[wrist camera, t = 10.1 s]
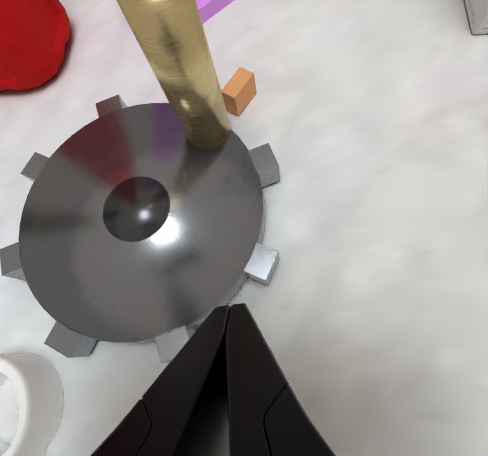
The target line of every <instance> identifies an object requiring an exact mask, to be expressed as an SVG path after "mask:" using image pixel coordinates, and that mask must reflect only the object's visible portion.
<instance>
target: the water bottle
mask: <svg viewBox="0 0 488 456" xmlns="http://www.w3.org/2000/svg"><path fill="white" fill-rule="evenodd" d="M69 37H70V25H69V18H68V16H67V14H66V11H65V9H64V7H63V6H62V4H61V3H60V2H59V0H0V91H1V90H5V89H11V90H26V89H30V88H34V87H38V86H40V85H41V84H43V83H44V82H46V81H47V80H49V79H50V78H51V77H53V76H54V75H56V73H57V71H58V69H59V67H60V65H61V63H62V61H63V59H64V51H65V45H66V43H67V41H68V39H69Z"/></svg>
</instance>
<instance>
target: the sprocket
mask: <svg viewBox="0 0 488 456" xmlns="http://www.w3.org/2000/svg"><path fill="white" fill-rule="evenodd" d="M117 2H118V4H119V6H120V8H121V10H122V12H123V14H124V16H125V17H126V19H127V21H128V23H129V25H130V27H131V29H132V31H133V33H134V35H135V37H136V39H137V41H138V43H139V45H140V47H141V49H142V51H143V52H144V54H145V56H146V58H147V60H148V62H149V64H150V66H151V68H152V70H153V72H154V74H155V76H156V78H157V80H158V82H159V84H160V86H161V87H162V89H163V91H164V93H165V95H166V97H167V99H168V101H169V103H170V104H169V103H150V104H141V105H135V106H131V107H127V106H126V105H125V103H124V102H123V100H122V99H121V97H120V96H119V95H116V96H114V97H111V98H109V99H106V100H104V101H101V102H99V103H96V108H97V112H98V116H99V118H98V119H96V120H94V121H93V122H91V123H89V124H88V125H86V126H84V127H83V128H81V129H80V130H79V131H77V132H76V133H75V134H73V135H72V136H71V137H70V138H69V139H67V140H66V141H65V142H64V143H63V144H62V145H61V146H60V147H59V148H58V149H57V150H56V151H55V152H54V153H53V155H52V156H51V157H50V158H48V157H46V156H43V155H41V154H38V153H36V152H35V153H34V154H33V156H32V157H31V159H30V160H29V162H28V163H27V165H26V166H25V168H24V169H23V171H22V172H21V174H22V175H24V176H25V177H27V178H29V179H30V180H32V181H33V182H34V183H33V185H32V187H31V189H30V191H29V194H28V196H27V199H26V202H25V205H24V208H23V212H22V217H21V222H20V230H19V242H17V243H15V244H12V245H10V246H7V247H5V248H2V249H0V261H1V270H2V276H7V277H11V278H16V279H20V280H25V281H27V284H28V286H29V287H30V289H31V291H32V293H33V295H34V297H35V298H36V299H37V301H38V302H39V303H40V305H41V306H42V307H43V309H44V310H45V311H46V312H47V313H49V314H50V315H51V316H52V317H53V318H54V319H55V320H56V321H57V322H56V323H55V325H54V327H53V329H52V330H51V332H50V334H49V335H48V337H47V339H46V341H45V342H44V344H46V345H48V346H49V347H51V348H53V349H54V350H56V351H58V352H59V353H61V354H63V355H65V356H66V357H68V358H69V357H83V356H89V354H90V352H91V350H92V349H93V347H94V345H95V343H96V341H97V340H103V341H111V342H149V341H155V340H156V344H157V348H158V352H159V356H160V360H161V363H163V362H168V361H172V360H173V358H174V357H175V356H176V355H177V353H178V352H179V351H180V350H181V349H182V347H183V346H184V345H185V344H186V342H187V341H188V340H189V339H190V338H191V336H192V335H193V334H194V333H195V331H196V329H195V327H197V326H198V325H200V324H201V323H203V322H204V320H205V319H206V318H207V317H208V315H209V314H210V313H211V312H212V311H213V309H214V308H215V307H218V306H225V305H226V304H227V303H228V302H229V301H230V300H231V299H232V298H233V297H234V296H235V294H236V293H237V292H238V291H239V289H240V288H241V286H242V285H243V284H244V282H245V281H246V279H247V278H248V277H249V278H251V279H254V280H256V281H258V282H260V283H263V284H265V285H267V286H268V284H269V282H270V280H271V277H272V275H273V273H274V271H275V268H276V266H277V264H278V261H279V253H278V251H276V250H274V249H271V248H269V247H266V246H264V245H261V244H262V240H263V236H264V228H265V203H264V198H263V192H262V187H265V186H267V185H270V184H272V183H275V182H277V181H280V173H279V165H278V163H277V161H276V158H275V156H274V154H273V152H272V150H271V148H270V146H269V143H267V144H265V145H262V146H260V147H257V148H255V149H252V150H250V151H248V149H247V148H246V146H245V145H244V144H243V142H242V141H241V139H240V138H239V137H238V136H237V135H236V134H235V133H234V132H233V131H232V130H231V124H230V121H229V117H228V114H227V110H226V107H225V103H224V99H223V96H222V92H221V89H220V85H219V82H218V78H217V75H216V71H215V68H214V64H213V60H212V57H211V53H210V50H209V46H208V43H207V39H206V36H205V32H204V29H203V25H202V22H201V18H200V14H199V11H198V7H197V4H196V0H117Z"/></svg>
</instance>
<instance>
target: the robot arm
mask: <svg viewBox="0 0 488 456" xmlns="http://www.w3.org/2000/svg"><path fill="white" fill-rule="evenodd" d="M90 456H336V455H335V454H334V453H333V451H332V450H331V449H330V447H329V446H328V444H327V443H326V442H325V440H324V439H323V438H322V436H321V435H320V434H319V432H318V431H317V429H316V428H315V426H314V425H313V423H312V422H311V421H310V419H309V418H308V416H307V415H306V413H305V411H304V410H303V408H302V406H301V404H300V403H299V401H298V399H297V398H296V396H295V394H294V392H293V390H292V388H291V387H290V386H289V383H288V381H287V380H286V378H285V376H284V374H283V372H282V370H281V368H280V367H279V365H278V363H277V361H276V359H275V357H274V355H273V354H272V352H271V350H270V348H269V346H268V344H267V342H266V341H265V339H264V337H263V335H262V333H261V331H260V329H259V328H258V326H257V324H256V322H255V320H254V318H253V316H252V315H251V313H250V311H249V309H248V307H247V305H246V304H244V303H242V304H234V305H232V306H231V307H230V306H229V305H226V306H218V307H215V308H214V309H213V311H212V312H211V313H210V314H209V315H208V317H207V318H206V319H205V320H204V322H203V323H202V324H201V325H200V327H199V328H198V329H197V330H196V331H195V333H194V334H193V335H192V336H191V338H190V339H189V340H188V341H187V342H186V344H185V345H184V346H183V347H182V349H181V350H180V351H179V352H178V353H177V355H176V356H175V357H174V358H173V360H172V361H171V362H170V363H169V364H168V366H167V367H166V368H165V369H164V371H163V372H162V373H161V374H160V375H159V377H158V378H157V379H156V380H155V382H154V383H153V384H152V385H151V387H150V388H149V389H148V390H147V391H146V393H145V394H144V395H143V396H142V400H139V401H138V402H137V403H136V405H135V406H134V407H133V408H132V410H131V411H130V412H129V413H128V414H127V416H126V417H125V418H124V419H123V420H122V421H121V423H120V424H119V425H118V426H117V427H116V428H115V430H114V431H113V432H112V433H111V434H110V435H109V436H108V437H107V438H106V439H105V440H104V442H103V443H102V444H101V445H100V446H99V447H98V448H97V449H96V450H95V451H94V452H93V453H92V454H91V455H90Z"/></svg>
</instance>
